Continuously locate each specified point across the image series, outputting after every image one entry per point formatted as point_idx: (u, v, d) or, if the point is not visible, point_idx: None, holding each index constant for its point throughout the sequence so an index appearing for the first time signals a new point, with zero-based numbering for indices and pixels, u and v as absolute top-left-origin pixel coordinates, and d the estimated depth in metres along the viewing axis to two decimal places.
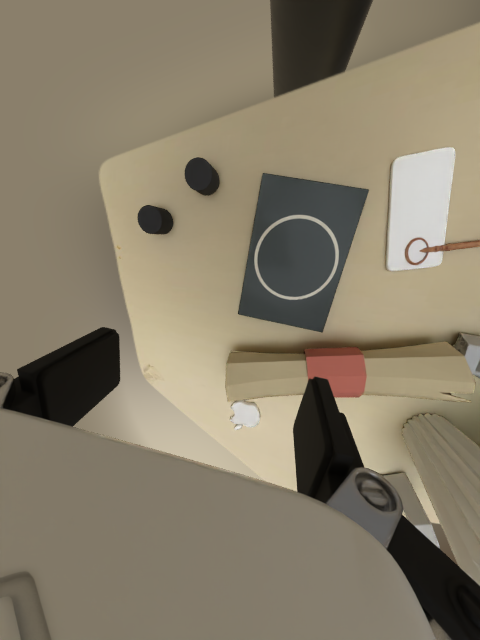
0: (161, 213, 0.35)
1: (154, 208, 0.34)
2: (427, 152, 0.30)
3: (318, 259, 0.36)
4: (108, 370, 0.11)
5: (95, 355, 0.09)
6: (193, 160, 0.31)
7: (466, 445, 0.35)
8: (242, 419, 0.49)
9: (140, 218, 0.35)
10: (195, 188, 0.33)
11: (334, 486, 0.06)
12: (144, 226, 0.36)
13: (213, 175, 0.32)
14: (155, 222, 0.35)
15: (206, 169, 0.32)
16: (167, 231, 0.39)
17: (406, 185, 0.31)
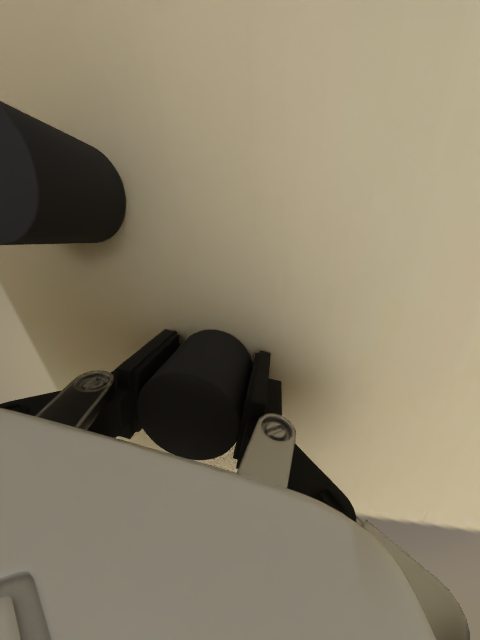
0: (163, 370, 0.08)
1: (144, 393, 0.08)
2: None
3: None
4: None
5: (165, 355, 0.10)
6: None
7: None
8: None
9: (184, 449, 0.09)
10: (31, 190, 0.07)
11: (249, 428, 0.08)
12: (212, 445, 0.09)
13: None
14: (195, 400, 0.08)
15: None
16: (244, 352, 0.11)
17: None
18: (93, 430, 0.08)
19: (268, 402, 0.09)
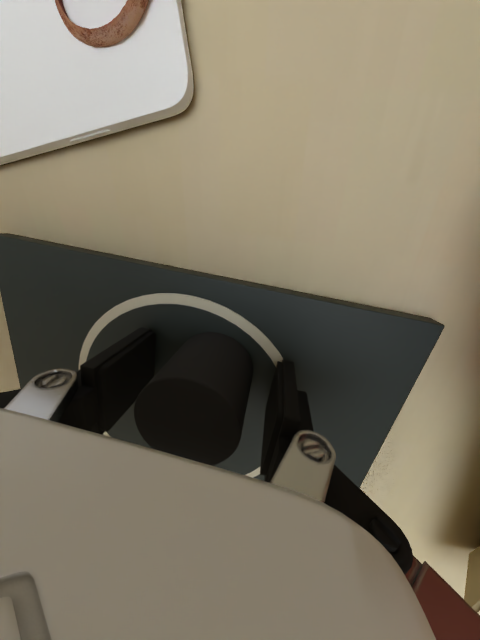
0: (161, 375, 0.08)
1: (141, 398, 0.08)
2: None
3: (173, 350, 0.12)
4: (146, 367, 0.11)
5: (138, 353, 0.10)
6: None
7: None
8: None
9: (183, 456, 0.09)
10: None
11: (283, 446, 0.07)
12: (212, 452, 0.08)
13: None
14: (194, 406, 0.08)
15: None
16: (245, 355, 0.11)
17: None
18: None
19: None
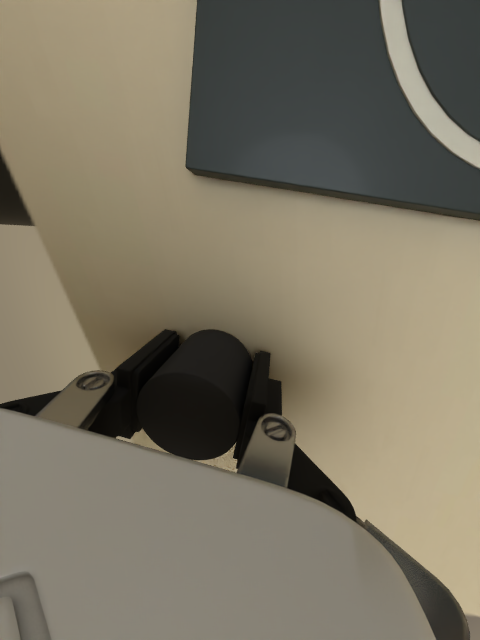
0: None
1: None
2: None
3: None
4: None
5: (165, 355, 0.10)
6: (146, 425, 0.09)
7: None
8: None
9: None
10: (232, 437, 0.08)
11: (249, 428, 0.08)
12: None
13: (190, 363, 0.08)
14: None
15: (169, 390, 0.08)
16: None
17: None
18: (93, 430, 0.08)
19: (268, 402, 0.09)
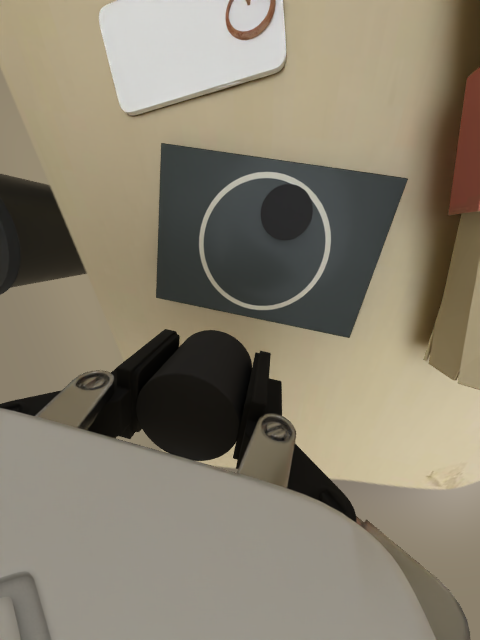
0: (276, 187, 0.18)
1: (266, 199, 0.18)
2: (109, 58, 0.20)
3: None
4: None
5: (165, 355, 0.10)
6: (146, 426, 0.09)
7: None
8: None
9: (282, 233, 0.18)
10: (232, 437, 0.08)
11: (249, 429, 0.08)
12: (297, 227, 0.18)
13: (190, 364, 0.08)
14: (292, 199, 0.17)
15: (169, 390, 0.08)
16: None
17: (151, 79, 0.20)
18: (93, 430, 0.08)
19: (268, 402, 0.09)
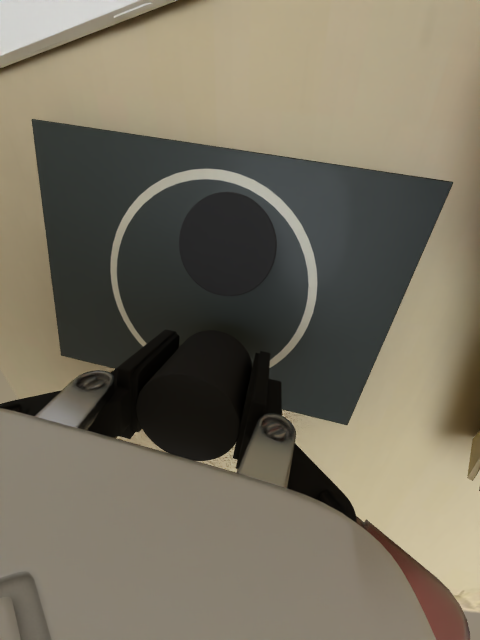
0: (205, 198, 0.09)
1: (187, 221, 0.09)
2: None
3: None
4: None
5: (165, 355, 0.10)
6: (146, 426, 0.09)
7: None
8: None
9: (222, 284, 0.10)
10: (232, 437, 0.08)
11: (249, 428, 0.08)
12: (248, 275, 0.09)
13: (190, 364, 0.08)
14: (235, 223, 0.09)
15: (169, 390, 0.08)
16: None
17: None
18: (93, 430, 0.08)
19: (268, 402, 0.09)
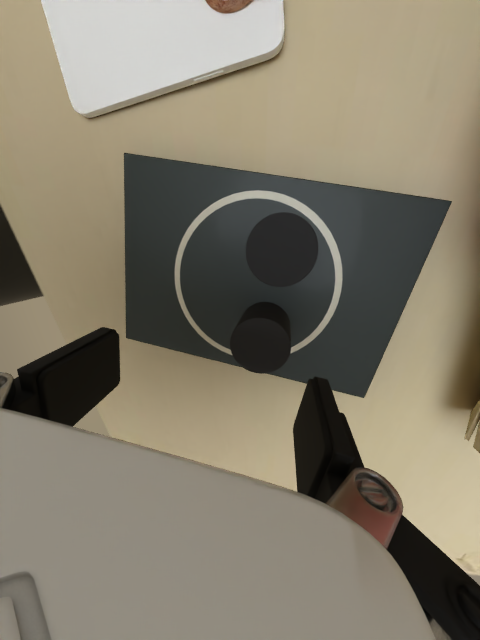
0: (267, 216, 0.13)
1: (253, 233, 0.13)
2: (55, 44, 0.15)
3: None
4: (108, 370, 0.11)
5: (95, 355, 0.09)
6: (234, 352, 0.15)
7: None
8: None
9: (275, 278, 0.13)
10: (286, 356, 0.15)
11: (334, 486, 0.06)
12: (296, 271, 0.13)
13: (262, 314, 0.15)
14: (289, 234, 0.12)
15: (251, 328, 0.15)
16: None
17: (109, 70, 0.15)
18: None
19: None
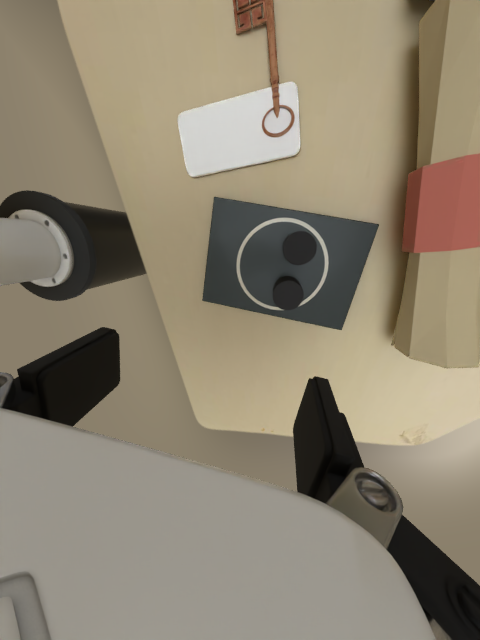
0: None
1: (287, 240, 0.28)
2: (182, 143, 0.30)
3: (281, 241, 0.32)
4: (108, 370, 0.11)
5: (95, 355, 0.09)
6: (275, 299, 0.31)
7: None
8: None
9: (297, 261, 0.29)
10: (301, 300, 0.30)
11: (334, 486, 0.06)
12: (306, 257, 0.28)
13: (289, 279, 0.30)
14: (303, 240, 0.28)
15: (284, 286, 0.30)
16: None
17: (210, 157, 0.30)
18: None
19: None
